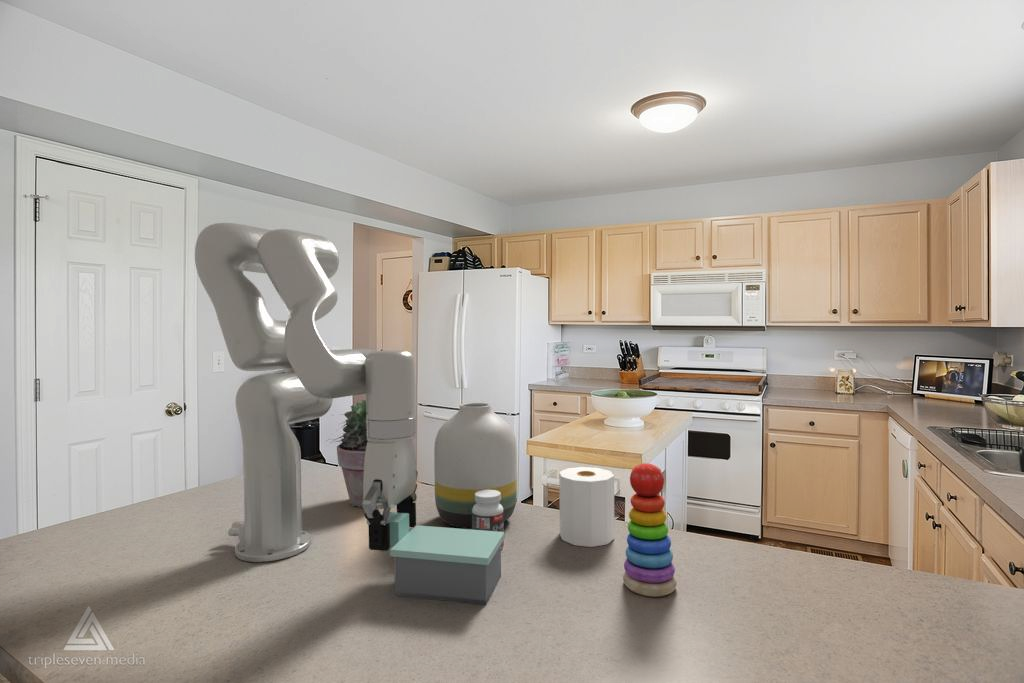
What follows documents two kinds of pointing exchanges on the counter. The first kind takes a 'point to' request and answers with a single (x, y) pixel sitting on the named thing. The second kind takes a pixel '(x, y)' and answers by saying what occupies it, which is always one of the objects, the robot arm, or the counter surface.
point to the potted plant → (354, 452)
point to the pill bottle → (488, 512)
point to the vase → (474, 463)
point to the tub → (447, 579)
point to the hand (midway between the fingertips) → (393, 537)
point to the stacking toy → (648, 536)
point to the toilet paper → (586, 506)
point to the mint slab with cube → (442, 542)
